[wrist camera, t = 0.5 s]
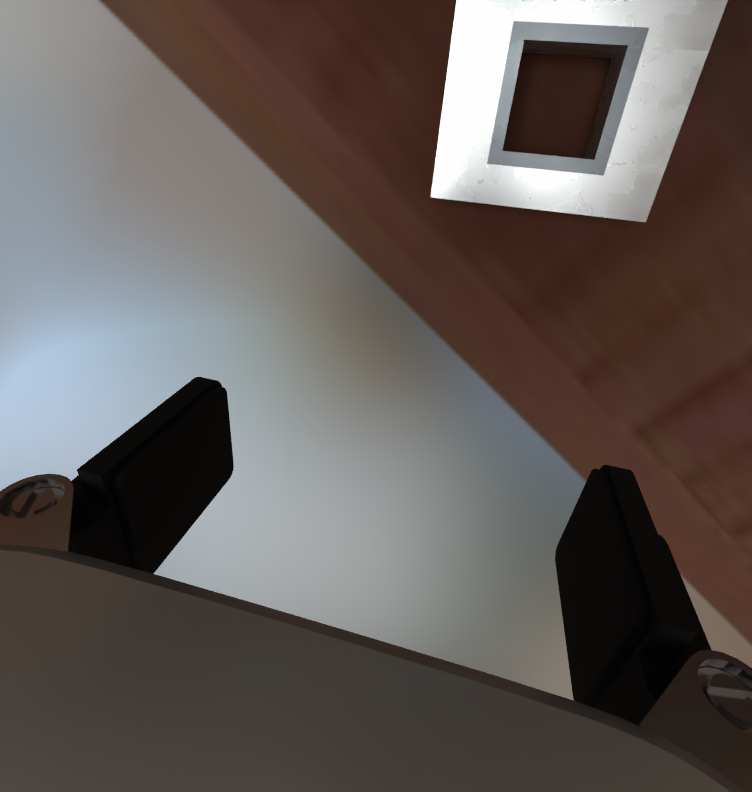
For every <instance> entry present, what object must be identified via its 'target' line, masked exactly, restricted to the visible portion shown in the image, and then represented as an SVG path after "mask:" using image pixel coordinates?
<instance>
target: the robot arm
mask: <svg viewBox="0 0 752 792" xmlns="http://www.w3.org/2000/svg"><path fill="white" fill-rule="evenodd" d="M77 471H78V474H79V475H78V476H77V477H76V478H75V479H74V480H72V481H70V480H69V479H68V478H67V477H64V476H62V475H57V474H44V475H36V476H32V477H28V478H25V479H22V480H20V481H18V482H15V483H13V484H11V485H9V486H8V487H6V488H5V489H3V490H2V491H0V792H752V668H751V667H749V666H748V665H746V664H745V663H743V662H742V661H740V660H738V659H736V658H734V657H732V656H729V655H727V654H725V653H722V652H718V651H712V650H711V648H710V645H709V643H708V641H707V638H706V636H705V633H704V631H703V629H702V626H701V624H700V621H699V619H698V616H697V614H696V612H695V609H694V607H693V604H692V602H691V599H690V597H689V595H688V592H687V590H686V588H685V585H684V583H683V580H682V578H681V575H680V573H679V571H678V568H677V566H676V563H675V561H674V558H673V556H672V554H671V551H670V549H669V546H668V544H667V542H666V541H665V539H664V538H663V537H662V536H660V535H658V533H657V531H656V528H655V526H654V523H653V521H652V518H651V516H650V513H649V511H648V508H647V506H646V503H645V501H644V498H643V496H642V493H641V491H640V488H639V486H638V483H637V481H636V478H635V476H634V474H633V472H632V471H631V470H628V469H623V468H618V467H614V466H609V465H603V466H602V467H601V468H600V470H598V469H593V470H592V471H591V473H590V475H589V477H588V479H587V482H586V484H585V486H584V488H583V491H582V493H581V495H580V497H579V499H578V502H577V504H576V506H575V508H574V510H573V513H572V515H571V517H570V519H569V522H568V524H567V526H566V528H565V530H564V532H563V534H562V537H561V539H560V541H559V543H558V546H557V549H556V556H555V562H556V569H557V577H558V585H559V592H560V600H561V607H562V615H563V623H564V630H565V638H566V646H567V653H568V661H569V668H570V676H571V684H572V691H573V698H574V701H573V700H570V699H567V698H564V697H561V696H557V695H554V694H551V693H548V692H545V691H542V690H539V689H536V688H533V687H529V686H526V685H523V684H520V683H517V682H514V681H511V680H508V679H504V678H501V677H498V676H495V675H492V674H488V673H485V672H482V671H479V670H475V669H472V668H469V667H465V666H462V665H459V664H455V663H452V662H449V661H445V660H442V659H439V658H435V657H432V656H429V655H426V654H422V653H419V652H416V651H412V650H409V649H406V648H403V647H399V646H396V645H392V644H389V643H386V642H383V641H379V640H376V639H373V638H369V637H366V636H362V635H359V634H356V633H353V632H349V631H346V630H342V629H339V628H336V627H332V626H329V625H326V624H322V623H319V622H316V621H312V620H309V619H305V618H302V617H299V616H295V615H292V614H289V613H285V612H282V611H278V610H275V609H272V608H268V607H265V606H261V605H258V604H255V603H251V602H248V601H244V600H241V599H238V598H234V597H231V596H227V595H224V594H220V593H217V592H213V591H210V590H207V589H203V588H200V587H196V586H193V585H189V584H186V583H182V582H179V581H175V580H172V579H169V578H165V577H162V576H158V575H155V574H153V573H154V572H155V571H156V570H157V569H158V567H159V566H160V565H161V564H162V562H163V561H164V559H166V557H167V556H168V555H169V554H170V552H171V551H172V550H173V549H174V547H175V546H176V545H177V544H178V542H179V541H180V540H181V539H182V537H183V536H184V535H185V534H186V532H187V531H188V530H189V528H190V527H191V526H192V525H193V523H194V522H195V521H196V520H197V519H198V517H199V516H200V515H201V514H202V512H203V511H204V510H205V509H206V507H207V506H208V505H209V504H210V502H211V501H212V499H214V497H215V496H216V495H217V493H218V492H219V491H220V490H221V488H222V487H223V486H224V485H225V484H226V482H227V481H228V479H229V478H230V477H231V475H232V471H233V454H232V443H231V432H230V421H229V410H228V400H227V391H226V389H225V388H223V387H222V385H221V384H220V382H218V381H216V380H211V379H207V378H202V377H196V378H194V379H193V380H191V382H189V383H188V384H186V385H185V386H184V387H183V388H181V389H180V390H179V391H177V392H176V393H175V394H173V395H172V396H171V397H170V398H168V399H167V400H166V401H165V402H163V403H162V404H161V405H159V406H158V407H157V408H156V409H154V410H153V411H152V412H150V413H149V414H148V415H147V416H146V417H144V418H143V419H141V420H140V421H139V422H138V423H136V424H135V425H134V426H132V427H131V428H130V429H129V430H127V431H126V432H125V433H124V434H122V435H121V436H120V437H118V438H117V439H116V440H114V441H113V442H112V443H111V444H110V445H108V446H107V447H105V448H104V449H103V450H102V451H100V452H99V453H98V454H96V455H95V456H94V457H93V458H91V459H90V460H89V461H88V462H86V463H85V464H84V465H82V466H81V467H80V468H79V469H77Z"/></svg>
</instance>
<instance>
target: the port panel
mask: <svg viewBox="0 0 752 792" xmlns="http://www.w3.org/2000/svg"><path fill="white" fill-rule="evenodd" d="M727 1H728V0H457V1H456V9H455V16H454V24H453V31H452V39H451V47H450V54H449V62H448V69H447V77H446V85H445V92H444V100H443V107H442V115H441V122H440V130H439V138H438V145H437V153H436V160H435V168H434V175H433V183H432V191H431V197H432V198H441V199H449V200H458V201H467V202H475V203H484V204H492V205H501V206H510V207H518V208H527V209H535V210H544V211H553V212H561V213H570V214H578V215H587V216H596V217H604V218H613V219H621V220H630V221H639V222H646V220H647V217H648V214H649V212H650V209H651V206H652V204H653V201H654V198H655V195H656V193H657V190H658V187H659V185H660V182H661V179H662V177H663V174H664V171H665V168H666V166H667V163H668V160H669V158H670V155H671V152H672V150H673V147H674V144H675V141H676V139H677V136H678V133H679V131H680V128H681V125H682V123H683V120H684V117H685V114H686V112H687V109H688V106H689V104H690V101H691V98H692V95H693V93H694V90H695V87H696V85H697V82H698V79H699V77H700V74H701V71H702V68H703V66H704V63H705V60H706V58H707V55H708V52H709V50H710V47H711V44H712V41H713V39H714V36H715V33H716V31H717V28H718V25H719V23H720V20H721V17H722V14H723V12H724V9H725V6H726V4H727ZM522 53H537V54H553V55H570V56H586V57H603V58H611V62H610V65H609V69H608V72H607V76H606V80H605V83H604V87H603V90H602V94H601V97H600V101H599V104H598V108H597V111H596V115H595V118H594V122H593V126H592V129H591V133H590V136H589V140H588V143H587V147H586V150H585V154H584V157H583V158H580V157H569V156H559V155H549V154H538V153H528V152H517V151H507V150H503V145H504V140H505V135H506V130H507V125H508V120H509V115H510V110H511V105H512V100H513V95H514V90H515V85H516V79H517V74H518V69H519V64H520V59H521V54H522Z"/></svg>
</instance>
